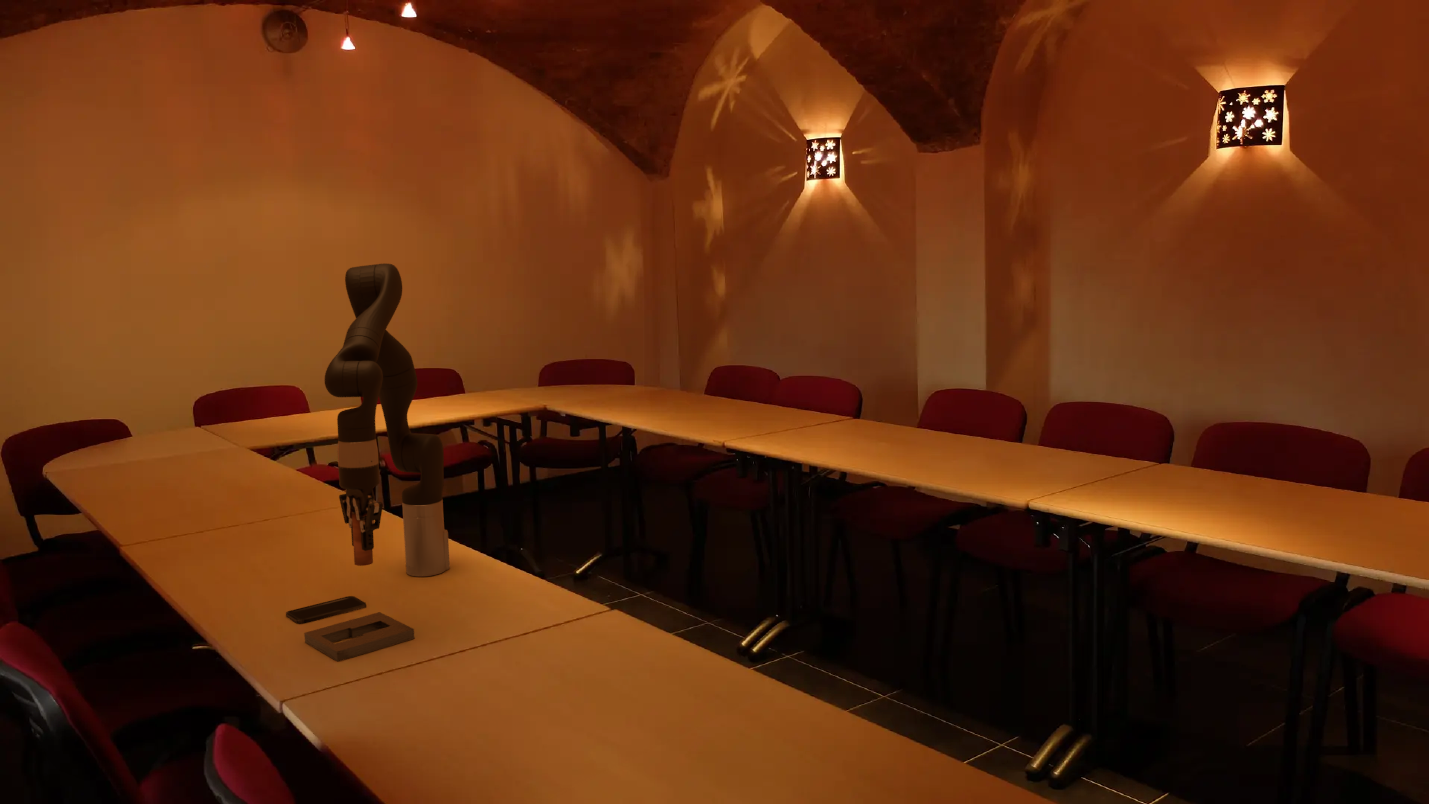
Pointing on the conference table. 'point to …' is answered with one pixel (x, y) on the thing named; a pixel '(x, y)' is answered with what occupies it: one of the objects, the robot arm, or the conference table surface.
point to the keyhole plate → (371, 630)
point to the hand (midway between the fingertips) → (362, 547)
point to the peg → (360, 545)
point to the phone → (325, 610)
